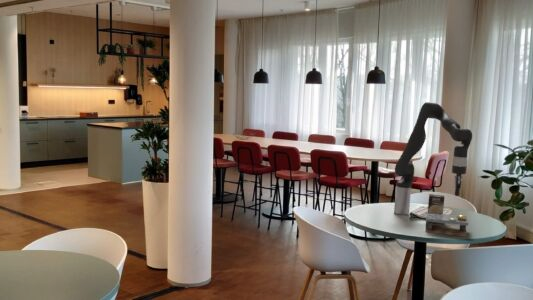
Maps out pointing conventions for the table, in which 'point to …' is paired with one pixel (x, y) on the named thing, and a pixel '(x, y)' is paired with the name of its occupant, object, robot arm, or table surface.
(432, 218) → the level plate
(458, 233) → the walnut base
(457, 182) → the robot arm
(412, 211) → the table surface
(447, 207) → the table surface
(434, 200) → the coffee box
